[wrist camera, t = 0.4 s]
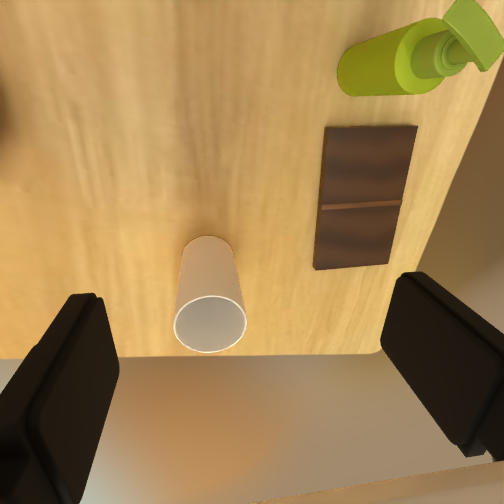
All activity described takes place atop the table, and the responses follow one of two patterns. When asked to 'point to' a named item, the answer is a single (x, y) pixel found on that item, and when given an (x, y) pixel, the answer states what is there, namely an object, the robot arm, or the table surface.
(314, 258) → the walnut board
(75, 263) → the table surface
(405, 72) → the soap dispenser
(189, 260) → the cup
